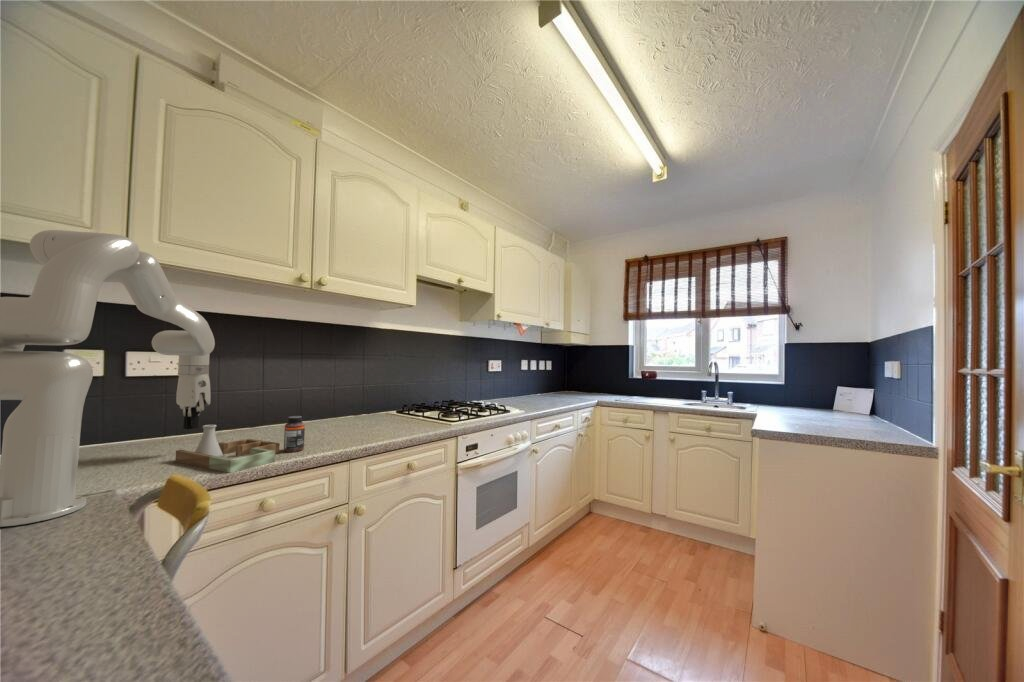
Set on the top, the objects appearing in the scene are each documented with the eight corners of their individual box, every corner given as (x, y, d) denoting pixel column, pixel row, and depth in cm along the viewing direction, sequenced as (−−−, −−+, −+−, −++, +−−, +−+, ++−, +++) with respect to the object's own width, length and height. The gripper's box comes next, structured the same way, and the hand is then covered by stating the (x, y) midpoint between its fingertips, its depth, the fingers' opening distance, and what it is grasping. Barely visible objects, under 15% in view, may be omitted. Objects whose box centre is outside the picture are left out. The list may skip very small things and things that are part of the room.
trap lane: (230, 472, 100) (230, 460, 100) (175, 461, 109) (175, 450, 109) (296, 455, 118) (296, 445, 118) (244, 447, 127) (245, 438, 127)
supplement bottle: (290, 448, 128) (292, 415, 128) (307, 448, 128) (309, 415, 128) (279, 452, 122) (281, 417, 122) (296, 452, 122) (298, 418, 122)
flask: (205, 462, 109) (207, 428, 110) (185, 460, 110) (187, 426, 111) (228, 456, 116) (230, 424, 117) (209, 454, 118) (211, 422, 118)
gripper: (221, 371, 119) (218, 428, 119) (193, 369, 125) (190, 424, 124) (194, 372, 112) (191, 433, 112) (165, 370, 118) (162, 428, 117)
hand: (190, 428), depth 118 cm, fingers closed
